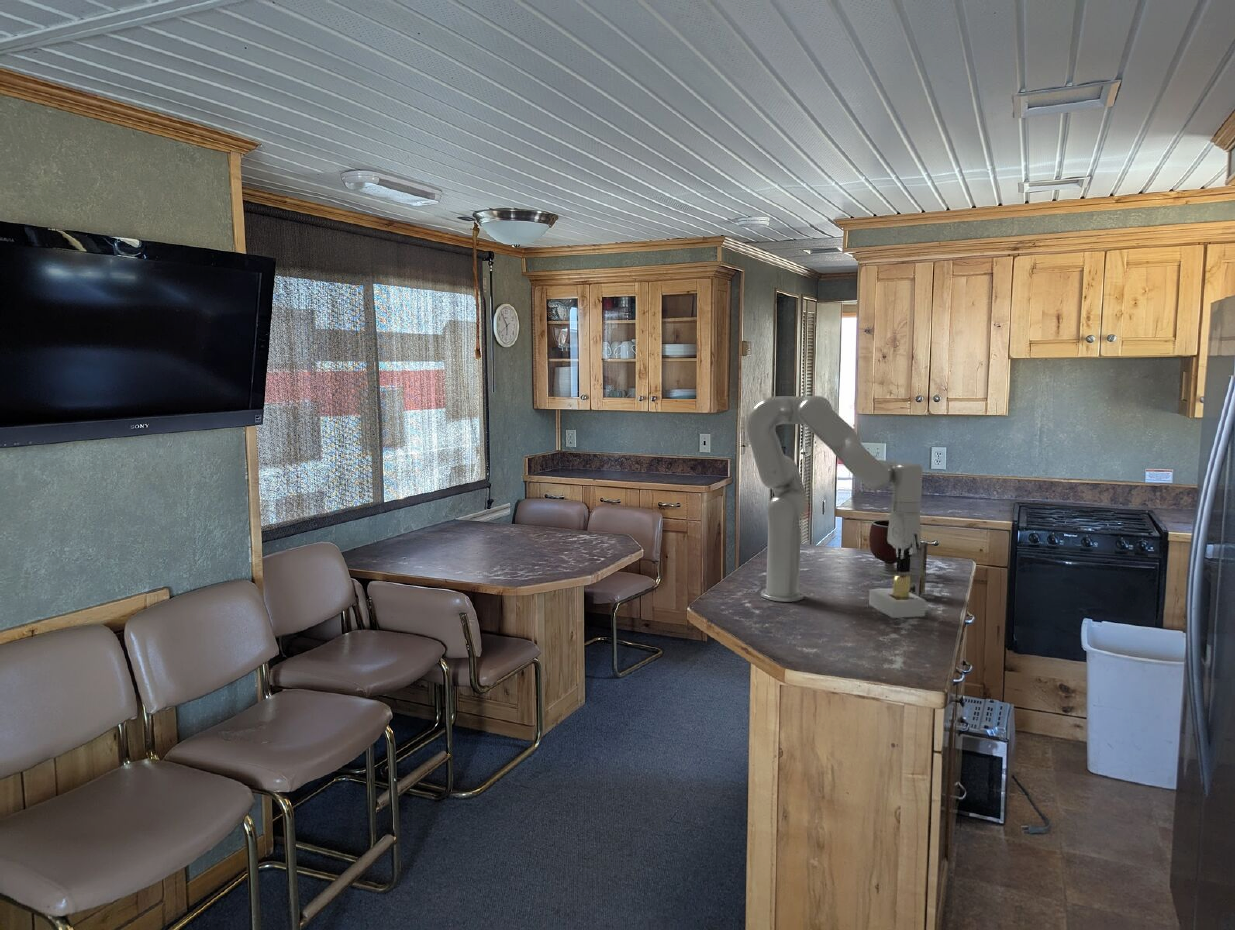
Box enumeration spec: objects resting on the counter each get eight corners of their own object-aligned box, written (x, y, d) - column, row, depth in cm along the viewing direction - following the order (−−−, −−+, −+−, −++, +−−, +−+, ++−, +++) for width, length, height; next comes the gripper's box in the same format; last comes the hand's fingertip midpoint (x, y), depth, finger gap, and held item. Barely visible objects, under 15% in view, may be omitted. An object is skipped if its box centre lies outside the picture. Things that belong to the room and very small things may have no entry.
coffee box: (903, 590, 259) (906, 539, 257) (925, 593, 255) (928, 542, 253) (897, 597, 251) (900, 544, 249) (919, 600, 248) (922, 547, 246)
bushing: (888, 604, 237) (890, 573, 236) (902, 604, 238) (904, 573, 237) (897, 609, 233) (899, 577, 231) (911, 608, 234) (913, 577, 232)
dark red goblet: (867, 567, 288) (870, 510, 286) (909, 570, 284) (912, 512, 282) (868, 577, 273) (871, 518, 271) (912, 581, 270) (916, 520, 267)
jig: (868, 604, 242) (869, 589, 242) (899, 602, 245) (900, 588, 244) (892, 617, 230) (893, 602, 229) (924, 616, 232) (925, 600, 231)
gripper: (880, 503, 238) (877, 565, 240) (908, 512, 224) (905, 578, 226) (903, 502, 240) (900, 564, 242) (933, 511, 225) (930, 577, 227)
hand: (902, 571), depth 234 cm, fingers closed
